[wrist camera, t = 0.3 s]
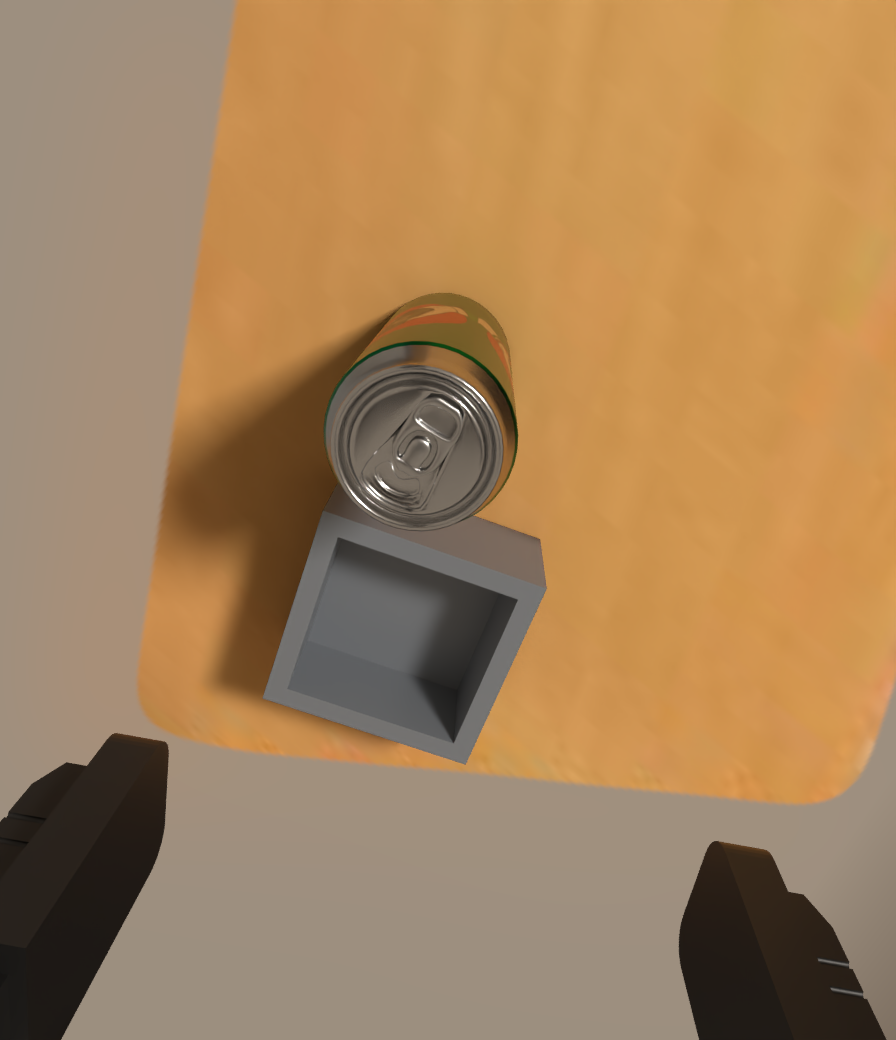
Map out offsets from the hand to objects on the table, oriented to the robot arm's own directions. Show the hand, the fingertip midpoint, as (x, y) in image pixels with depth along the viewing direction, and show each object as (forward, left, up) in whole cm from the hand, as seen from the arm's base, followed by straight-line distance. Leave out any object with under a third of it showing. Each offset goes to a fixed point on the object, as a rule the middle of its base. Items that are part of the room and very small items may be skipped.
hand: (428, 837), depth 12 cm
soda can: (-2, -2, -22) cm, 22 cm away
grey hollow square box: (+8, 0, -22) cm, 23 cm away
